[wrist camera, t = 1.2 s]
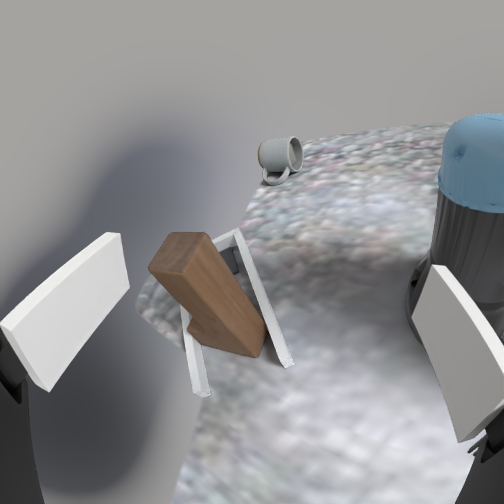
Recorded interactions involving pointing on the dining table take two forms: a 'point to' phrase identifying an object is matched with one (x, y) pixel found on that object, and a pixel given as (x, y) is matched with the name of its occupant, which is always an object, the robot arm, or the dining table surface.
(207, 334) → the wooden block
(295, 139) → the ceramic mug
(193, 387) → the channel
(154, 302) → the dining table surface
